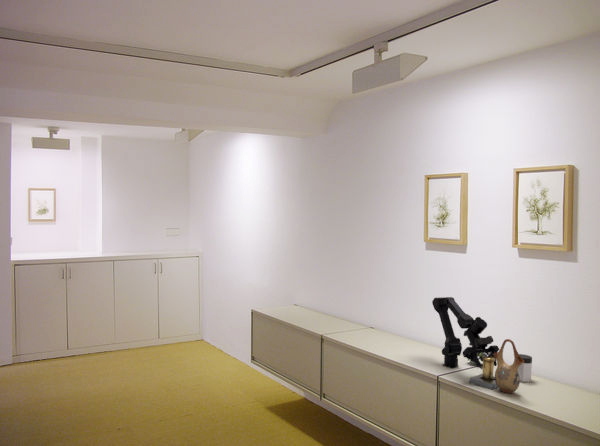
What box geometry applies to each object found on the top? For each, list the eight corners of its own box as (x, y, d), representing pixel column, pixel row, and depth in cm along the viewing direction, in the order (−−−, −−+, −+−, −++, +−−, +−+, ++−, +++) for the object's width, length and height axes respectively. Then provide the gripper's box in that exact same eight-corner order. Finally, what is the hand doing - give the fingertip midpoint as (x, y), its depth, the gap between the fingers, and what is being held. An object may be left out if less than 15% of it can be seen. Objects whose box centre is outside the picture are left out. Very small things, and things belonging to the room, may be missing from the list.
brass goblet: (478, 383, 261) (479, 357, 260) (484, 381, 265) (486, 355, 264) (489, 386, 256) (491, 360, 256) (496, 384, 260) (497, 358, 260)
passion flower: (484, 375, 293) (497, 360, 288) (470, 373, 289) (482, 358, 283) (473, 359, 302) (486, 344, 297) (460, 357, 297) (472, 342, 292)
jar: (534, 380, 269) (536, 357, 268) (526, 383, 264) (528, 359, 263) (518, 375, 276) (519, 353, 275) (510, 378, 270) (511, 355, 270)
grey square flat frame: (469, 382, 261) (470, 377, 261) (482, 378, 269) (482, 373, 269) (492, 389, 252) (492, 384, 252) (504, 384, 260) (505, 379, 260)
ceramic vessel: (485, 387, 254) (488, 336, 253) (497, 385, 259) (500, 334, 258) (515, 398, 240) (518, 344, 240) (527, 395, 245) (530, 342, 244)
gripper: (467, 331, 262) (481, 359, 251) (497, 329, 268) (512, 356, 258) (456, 343, 269) (469, 370, 259) (486, 341, 276) (500, 368, 265)
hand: (488, 366), depth 260 cm, fingers open, 9 cm apart
